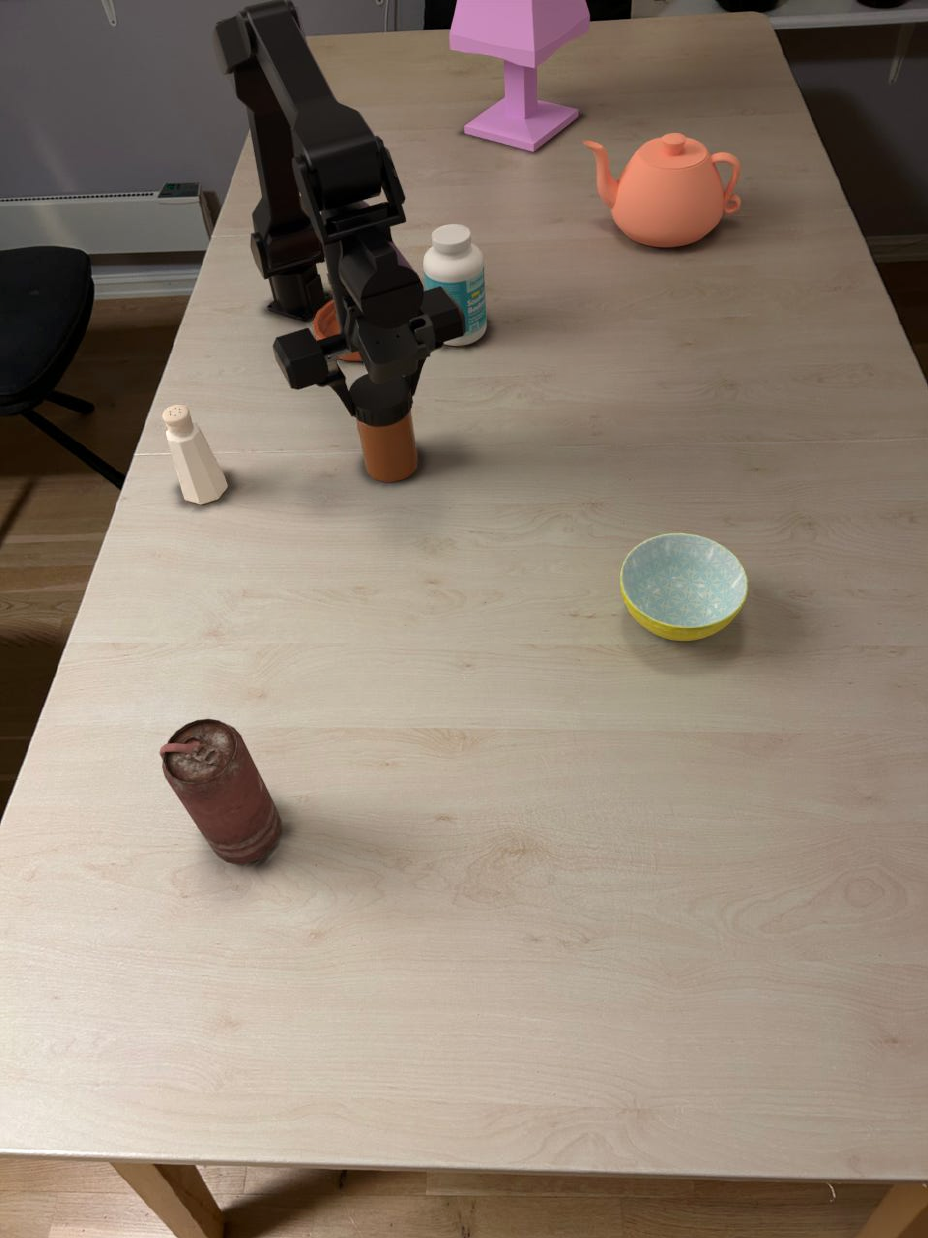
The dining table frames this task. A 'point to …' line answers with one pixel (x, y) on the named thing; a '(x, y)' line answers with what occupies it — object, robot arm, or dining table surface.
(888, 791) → the dining table surface
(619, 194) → the teapot
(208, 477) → the pepper shaker
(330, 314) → the dish
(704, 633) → the bowl
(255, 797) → the can
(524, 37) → the pink table lamp
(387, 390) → the lid
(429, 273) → the pill bottle
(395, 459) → the jam jar
